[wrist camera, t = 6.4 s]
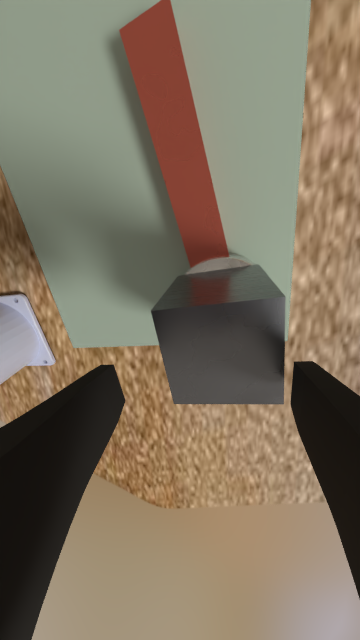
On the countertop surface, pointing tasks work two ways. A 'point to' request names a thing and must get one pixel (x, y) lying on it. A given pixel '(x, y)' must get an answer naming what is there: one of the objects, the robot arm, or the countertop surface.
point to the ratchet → (177, 136)
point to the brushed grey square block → (223, 337)
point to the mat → (146, 149)
